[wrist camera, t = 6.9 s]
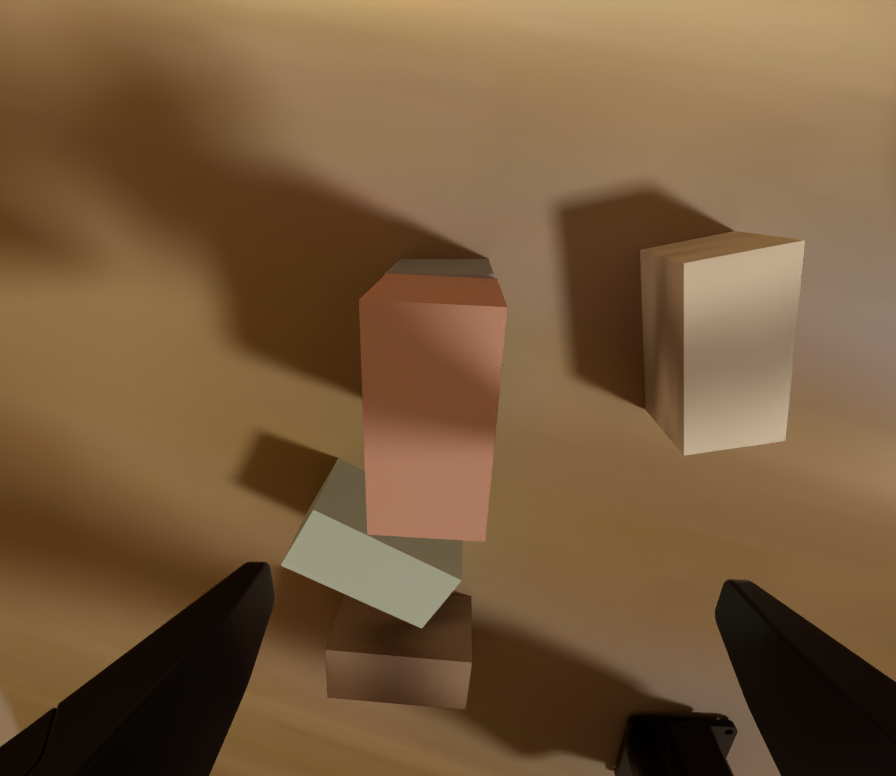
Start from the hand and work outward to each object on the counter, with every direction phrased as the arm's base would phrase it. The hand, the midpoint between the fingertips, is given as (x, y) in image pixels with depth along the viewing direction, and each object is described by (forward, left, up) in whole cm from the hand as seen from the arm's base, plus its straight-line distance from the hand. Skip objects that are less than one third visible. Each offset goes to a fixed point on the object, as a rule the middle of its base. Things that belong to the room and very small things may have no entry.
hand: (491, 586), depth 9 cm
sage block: (-8, +4, -12) cm, 15 cm away
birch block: (+2, -8, -12) cm, 15 cm away
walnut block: (-15, +3, -12) cm, 19 cm away
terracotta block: (+1, +2, -8) cm, 8 cm away
